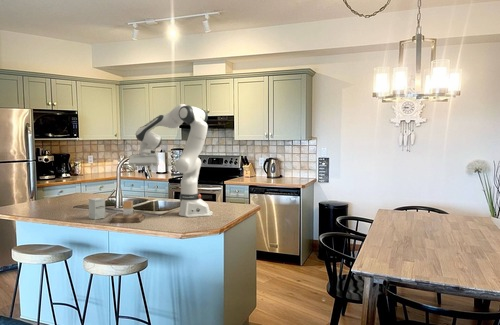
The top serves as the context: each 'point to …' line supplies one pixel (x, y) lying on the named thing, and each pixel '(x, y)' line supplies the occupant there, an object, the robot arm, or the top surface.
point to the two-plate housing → (128, 208)
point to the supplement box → (96, 208)
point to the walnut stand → (128, 218)
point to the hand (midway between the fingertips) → (142, 169)
